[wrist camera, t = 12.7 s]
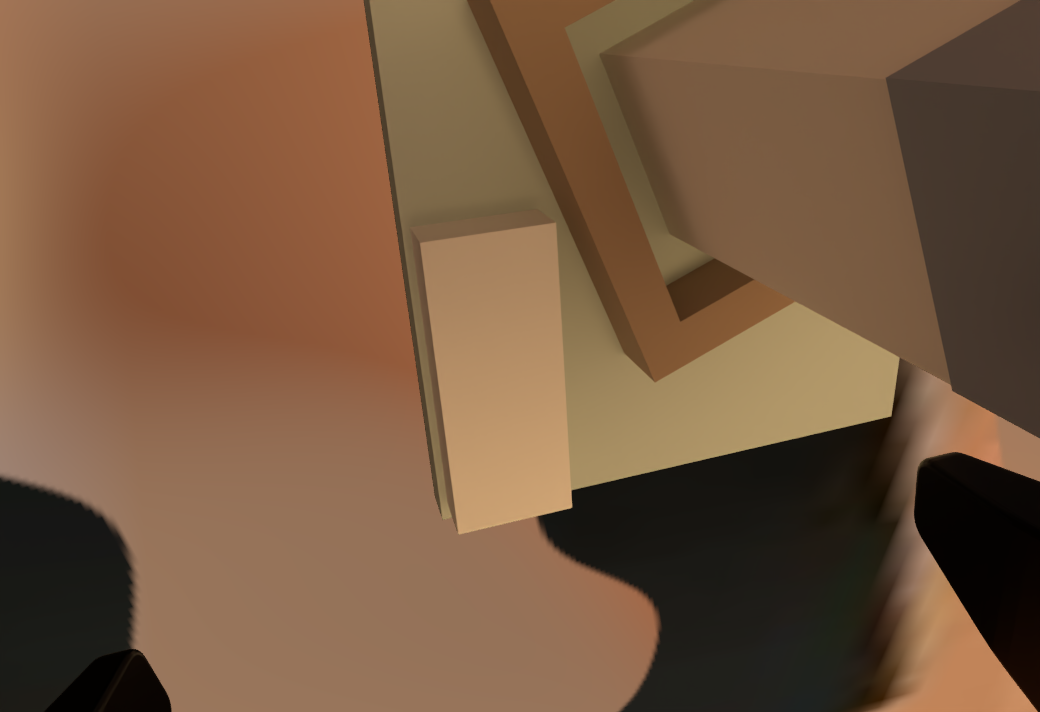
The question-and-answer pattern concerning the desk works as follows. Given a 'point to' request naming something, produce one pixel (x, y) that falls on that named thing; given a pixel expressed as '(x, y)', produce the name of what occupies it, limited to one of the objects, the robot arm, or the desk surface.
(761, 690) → the desk surface
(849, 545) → the desk surface
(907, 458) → the desk surface
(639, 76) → the tapered square pillar
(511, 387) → the plate
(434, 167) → the jig
